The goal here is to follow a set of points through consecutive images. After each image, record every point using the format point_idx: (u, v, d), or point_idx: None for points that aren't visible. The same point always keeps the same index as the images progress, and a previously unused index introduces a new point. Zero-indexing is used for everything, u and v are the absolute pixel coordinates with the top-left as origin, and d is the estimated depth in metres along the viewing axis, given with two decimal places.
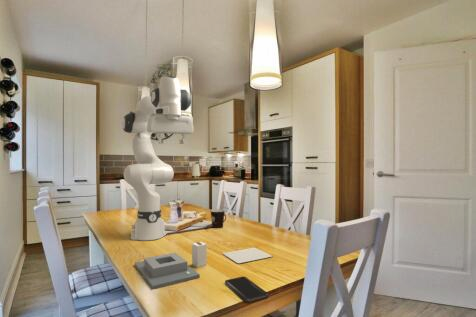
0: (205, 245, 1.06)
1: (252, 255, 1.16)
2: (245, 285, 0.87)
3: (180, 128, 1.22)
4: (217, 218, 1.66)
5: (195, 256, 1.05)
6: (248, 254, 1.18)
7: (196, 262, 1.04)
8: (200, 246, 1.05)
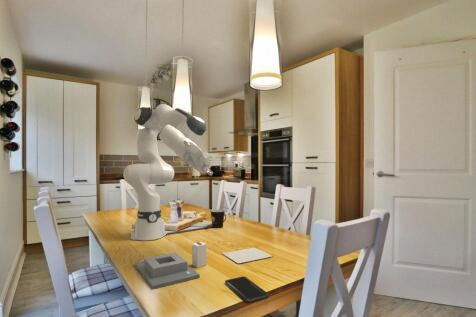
0: (205, 245, 1.06)
1: (252, 255, 1.16)
2: (245, 285, 0.87)
3: (195, 159, 1.15)
4: (217, 218, 1.66)
5: (195, 256, 1.05)
6: (248, 254, 1.18)
7: (196, 262, 1.04)
8: (200, 246, 1.05)
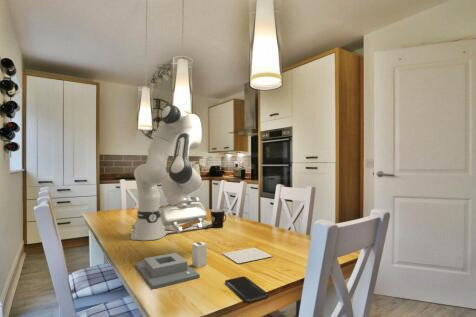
0: (205, 245, 1.06)
1: (252, 255, 1.16)
2: (245, 285, 0.87)
3: None
4: (217, 218, 1.66)
5: (195, 256, 1.05)
6: (247, 254, 1.18)
7: (196, 262, 1.04)
8: (200, 246, 1.05)
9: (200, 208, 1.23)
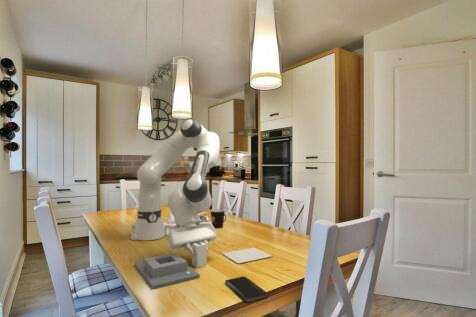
0: (205, 245, 1.06)
1: (252, 255, 1.16)
2: (245, 285, 0.87)
3: None
4: (217, 218, 1.66)
5: (195, 256, 1.05)
6: (247, 254, 1.18)
7: (196, 262, 1.04)
8: (200, 246, 1.05)
9: (210, 228, 1.15)
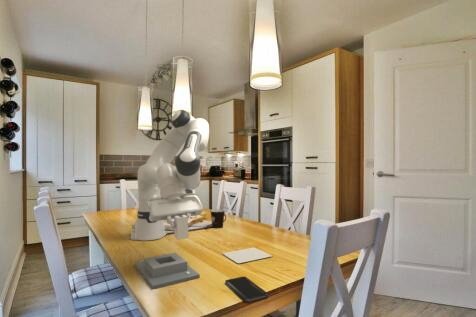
0: (186, 217, 1.02)
1: (252, 255, 1.16)
2: (245, 285, 0.87)
3: None
4: (217, 218, 1.66)
5: (176, 228, 1.02)
6: (247, 254, 1.18)
7: (177, 234, 1.01)
8: (180, 218, 1.01)
9: (196, 202, 1.10)
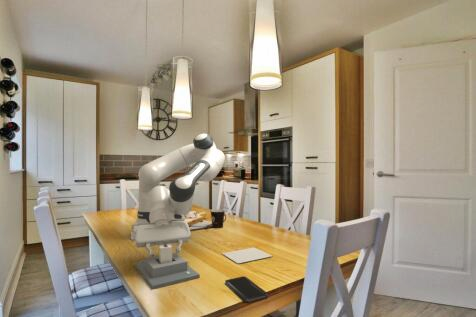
0: (170, 248, 0.99)
1: (252, 255, 1.16)
2: (245, 285, 0.87)
3: None
4: (217, 218, 1.66)
5: (160, 259, 0.99)
6: (247, 254, 1.18)
7: None
8: (164, 249, 0.98)
9: (184, 228, 1.08)
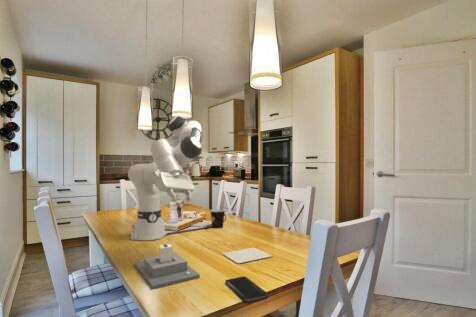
0: (170, 248, 0.99)
1: (252, 255, 1.16)
2: (245, 285, 0.87)
3: None
4: (217, 218, 1.66)
5: (160, 259, 0.99)
6: (247, 254, 1.18)
7: None
8: (164, 249, 0.98)
9: (189, 181, 1.22)
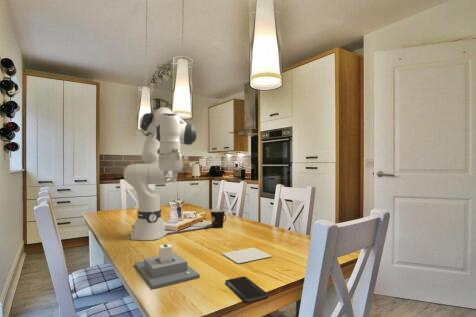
0: (170, 248, 0.99)
1: (252, 255, 1.16)
2: (245, 285, 0.87)
3: (168, 166, 1.16)
4: (217, 218, 1.66)
5: (160, 259, 0.99)
6: (247, 254, 1.18)
7: None
8: (164, 249, 0.98)
9: None
